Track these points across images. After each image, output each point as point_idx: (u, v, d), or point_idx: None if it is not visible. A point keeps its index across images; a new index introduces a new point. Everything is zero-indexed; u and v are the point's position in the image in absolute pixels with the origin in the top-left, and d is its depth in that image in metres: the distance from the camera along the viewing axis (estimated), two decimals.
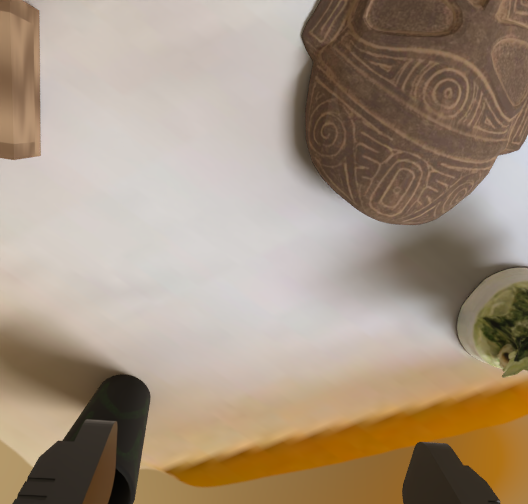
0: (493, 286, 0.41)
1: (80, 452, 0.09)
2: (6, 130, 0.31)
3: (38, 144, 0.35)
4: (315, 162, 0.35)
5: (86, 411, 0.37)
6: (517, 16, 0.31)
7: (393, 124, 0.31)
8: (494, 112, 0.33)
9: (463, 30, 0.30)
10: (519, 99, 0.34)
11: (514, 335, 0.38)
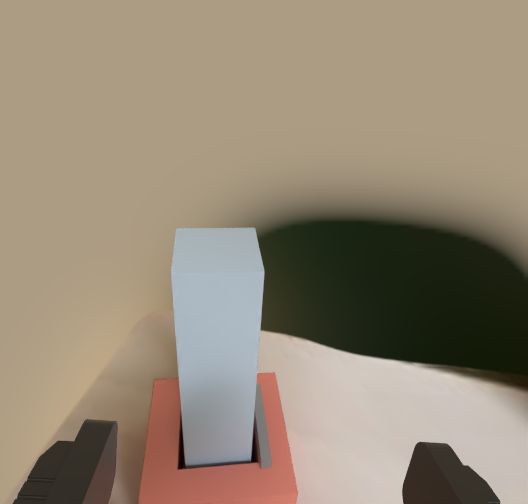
0: None
1: (80, 452, 0.09)
2: None
3: None
4: None
5: None
6: None
7: None
8: None
9: None
10: None
11: None
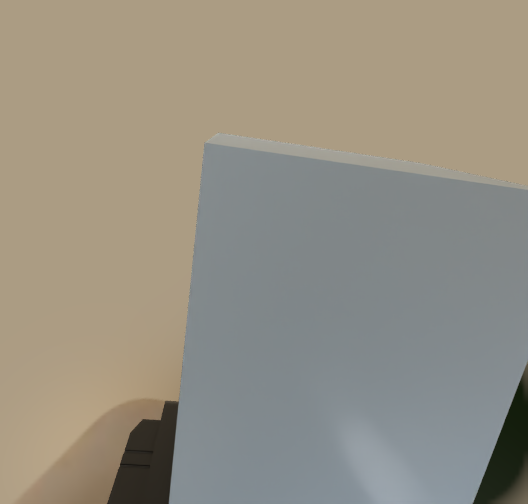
0: None
1: (169, 428, 0.10)
2: None
3: None
4: None
5: None
6: None
7: None
8: None
9: None
10: None
11: None
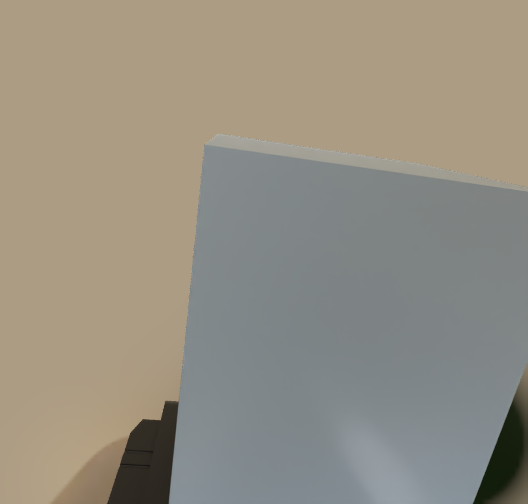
0: None
1: (169, 428, 0.10)
2: None
3: None
4: None
5: None
6: None
7: None
8: None
9: None
10: None
11: None
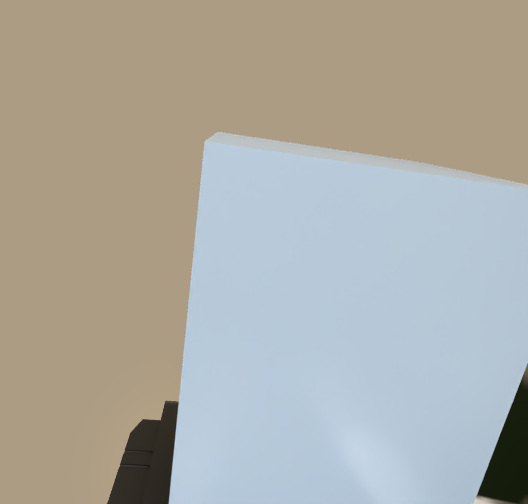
0: None
1: (169, 428, 0.10)
2: None
3: None
4: None
5: None
6: None
7: None
8: None
9: None
10: None
11: None
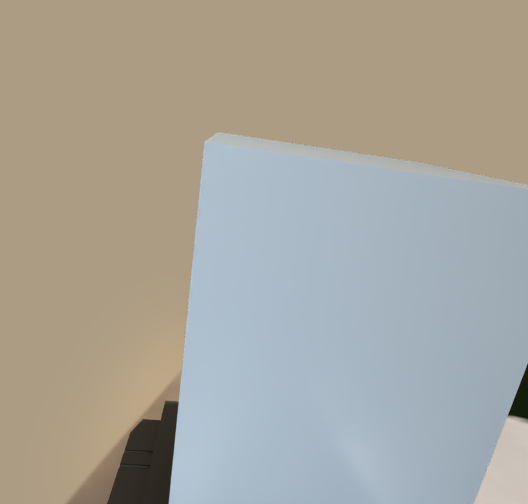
0: None
1: (169, 428, 0.10)
2: None
3: None
4: None
5: None
6: None
7: None
8: None
9: None
10: None
11: None
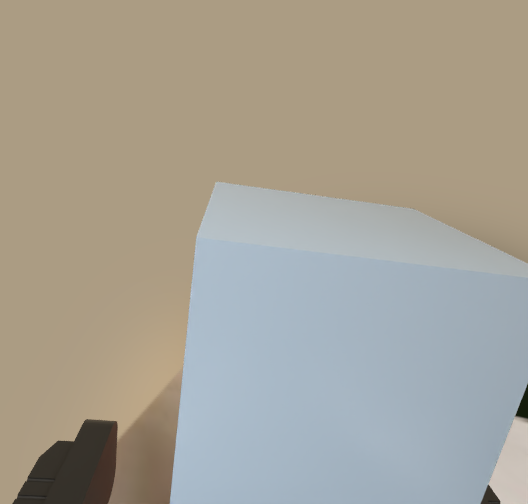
0: None
1: (80, 452, 0.09)
2: None
3: None
4: None
5: None
6: None
7: None
8: None
9: None
10: None
11: None
